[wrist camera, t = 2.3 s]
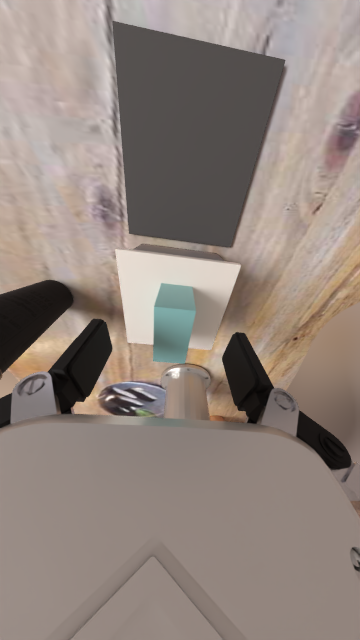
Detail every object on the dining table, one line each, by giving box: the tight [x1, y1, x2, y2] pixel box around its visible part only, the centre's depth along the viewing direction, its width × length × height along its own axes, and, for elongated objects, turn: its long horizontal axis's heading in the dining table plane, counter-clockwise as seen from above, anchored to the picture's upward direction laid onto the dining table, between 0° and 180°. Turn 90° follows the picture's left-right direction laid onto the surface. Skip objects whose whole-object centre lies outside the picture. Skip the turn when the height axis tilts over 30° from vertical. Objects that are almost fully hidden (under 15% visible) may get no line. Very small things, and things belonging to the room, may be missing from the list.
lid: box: [115, 247, 241, 364], centre depth 14 cm, size 11×11×6 cm
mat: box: [113, 21, 285, 247], centre depth 14 cm, size 13×13×1 cm
